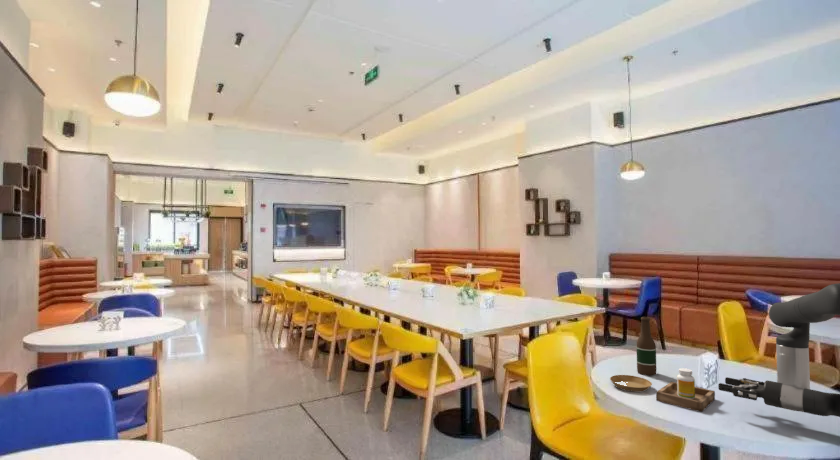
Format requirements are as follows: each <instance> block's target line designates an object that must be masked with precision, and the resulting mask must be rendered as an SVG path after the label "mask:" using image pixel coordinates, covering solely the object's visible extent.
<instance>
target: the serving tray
mask: <svg viewBox="0 0 840 460" xmlns="http://www.w3.org/2000/svg"><path fill="white" fill-rule="evenodd" d="M715 394H716V393H715V390H711V389H707V388H702V387H697V386H695V399H688V398H684V397H680V396H678V395H677V381H675V382H674V381H670V382H669V383H667V384H666V385H664V386H663V387H661V388H660V389H658V390H656V393H655V395H656V397H655V398H656V401H657V402H660V403H661V402H662V403H664V404H668V405H673V406H677V407H681V408H685V409H689V410H692V411H697V412H700V413H702V412H703V411H705V409H707V408H708V407H709V406H710V405H711V404H712V403H713V402H714V401H715V399H716V395H715Z"/></svg>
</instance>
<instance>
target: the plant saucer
mask: <svg viewBox="0 0 840 460" xmlns="http://www.w3.org/2000/svg"><path fill="white" fill-rule="evenodd" d="M609 379H610V382H611V383H612V384H613V385H614V386H615V387H616V386H617V387H616V388H617V389H620V390H622V389H623V391H627V392H633V393H634V392H635V393H638V392H639V393H640V392H645V391H647V390H648V389H649V388H651V387H652V386H653V383H652V382H651V381H650V380H649V379H647V378H643V377H641V376H635V375H631V374H617V375H616V374H615V375H612V376H611V377H610V378H609ZM621 381H623V382H625V383H626V382H628V383H626V385H627V386H624V385H620V384H617V383H615V382H621Z"/></svg>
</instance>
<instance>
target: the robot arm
mask: <svg viewBox="0 0 840 460" xmlns="http://www.w3.org/2000/svg"><path fill="white" fill-rule="evenodd" d="M768 314H769V315H768V317H769V319H770V321H771V322H772V323H773V324H774V325H775V326H777V327H780V328H792V330H791V331H789V332H787V333H783V334H780V335H777V336H776V338H775V344H776V345H775V347H776V348H775V349H776V350H775V351H776V372H777V373H776V376H777V377H776V378H777V379H776V381H772V380H765V381H764V382H763V381H760V380H754V379H750V378H739V379H738V378H734V377H727V376H726V377H725V378H724V383H722V382H719V383H718V384H717V385H718V390H719V391H723V392H727V393H731V394H732V395H733V396H734V397H738V398H741V399H747V400H752V401H758V398H761V399H763V403H764V405H766V406H771V407H776V408H778V409H779V408H781V409H784V410H789V411H792V412H802V413H807V414H811V415H816V416H820V417H821V416H822V417H829V416H833V417H839V418H840V393H832V392H823V391H820V390H815V389H811V380H810V379H811V377H810V349H809V346H810V344H809V343H810V331H811V330H810V329H811V324H814V323H815V324H817V323H822V322H823V323H824V322H827V321H829V320H831V319H832V318H834V317H835V315H836V316H840V283H839V282H838V283H832V284H828V285H827V286H825V287H823V288H822V289H820V290H819V291H815V292H813V293H809V294H805V295H802V296H800V297H796V298H794V299H791V300H788V301H783V302H782V301H781V302H775V303H773V304H772V305H771V306H770V308H769V311H768Z"/></svg>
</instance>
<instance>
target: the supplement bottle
mask: <svg viewBox="0 0 840 460" xmlns="http://www.w3.org/2000/svg"><path fill="white" fill-rule="evenodd" d="M678 373H679V374H677V376H676V383H677V395H678V396H680V397H684V398H688V399H695V387H696V386H695V383H696V381H695V380H696V379H695V377H694V376H693V370H692V369H689V368H686V367H685V368H681V367H680V368H678Z"/></svg>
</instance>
